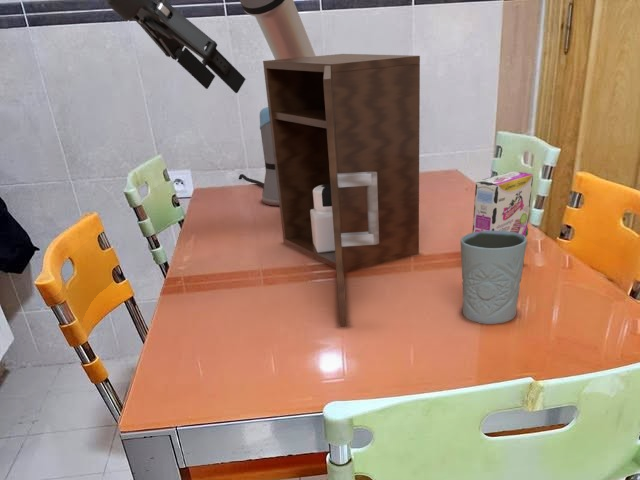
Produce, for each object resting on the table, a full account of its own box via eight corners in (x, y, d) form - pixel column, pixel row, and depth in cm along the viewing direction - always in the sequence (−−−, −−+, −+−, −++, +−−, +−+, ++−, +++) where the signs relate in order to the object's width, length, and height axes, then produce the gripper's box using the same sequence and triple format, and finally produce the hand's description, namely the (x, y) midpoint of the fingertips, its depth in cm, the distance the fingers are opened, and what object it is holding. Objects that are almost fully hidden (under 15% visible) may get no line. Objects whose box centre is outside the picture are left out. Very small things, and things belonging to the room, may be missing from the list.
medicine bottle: (345, 240, 140) (341, 180, 133) (351, 249, 134) (348, 187, 127) (312, 243, 139) (307, 183, 132) (317, 253, 133) (312, 191, 126)
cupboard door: (373, 271, 126) (365, 63, 106) (382, 323, 104) (375, 75, 84) (338, 273, 126) (324, 65, 106) (340, 326, 104) (323, 78, 84)
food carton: (490, 280, 119) (497, 184, 109) (468, 275, 122) (473, 181, 112) (525, 265, 125) (534, 172, 115) (503, 260, 128) (511, 169, 118)
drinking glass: (481, 330, 101) (486, 252, 94) (445, 310, 108) (447, 236, 101) (532, 316, 104) (541, 240, 97) (494, 298, 112) (500, 225, 105)
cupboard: (344, 273, 126) (331, 64, 106) (283, 243, 145) (262, 60, 124) (418, 254, 133) (420, 55, 113) (352, 228, 152) (342, 53, 132)
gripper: (86, 5, 109) (189, 98, 124) (128, -2, 91) (242, 108, 106) (109, -36, 108) (210, 63, 123) (156, -51, 90) (267, 67, 105)
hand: (225, 84), depth 115 cm, fingers open, 13 cm apart
